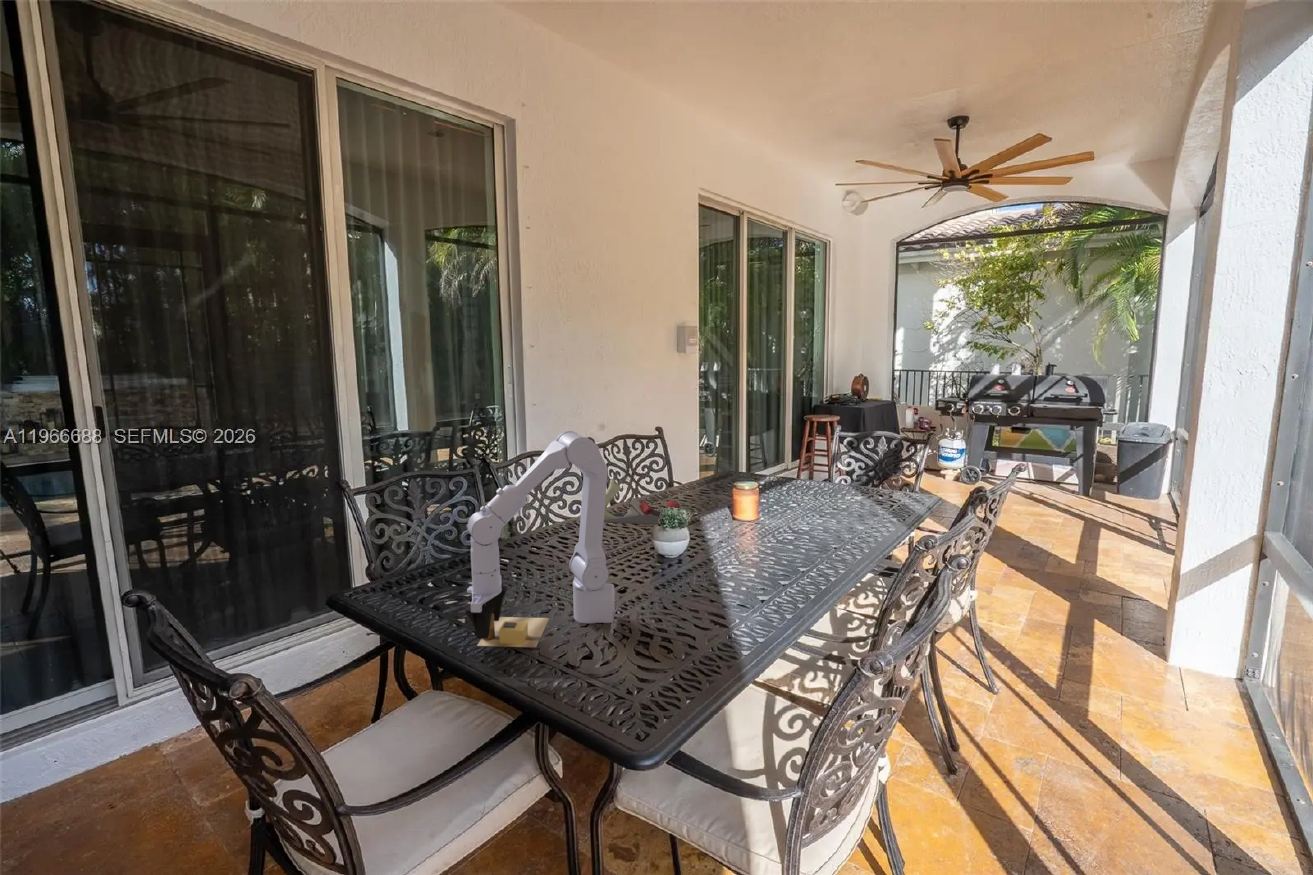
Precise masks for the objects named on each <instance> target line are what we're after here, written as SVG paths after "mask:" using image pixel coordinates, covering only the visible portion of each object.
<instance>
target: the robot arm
mask: <svg viewBox="0 0 1313 875" xmlns="http://www.w3.org/2000/svg"><path fill="white" fill-rule="evenodd" d="M569 463H570V464H572V465H574V466H575V468H577V469H578V470H579V472H581V473H582V474H583V479H582V492H581V506H580V507H581V508H580V520H579V531H578V532H579V533H578V542H577V543H576V544H575V546H574V551H573V554H572V556H571V558H570V560H569V569H570V572H571V574H573V575H574V576H573V577H574V579H573V581H572V591H573V592H572V596H573V598H572V599H573V619H574V621H576V622H577V623H581V624H597V623H600V624H601V623H604V624H605V623H608V624H610V623H611V624H610V629H612V627H613V622H614V619H615V616H616V608H615V606H616V604H615V585H614V584H612V583H607V581H608V579H609V571H608V567H607V564H606V563H607V562H606V560H607V557H606V553H605V551H604V548H603V534H604V533H603V532H604V523H605V522H604V511H605V498H606V491H607V484H608V474H609V473H608V466H607V463H606V462H605V460H604V458H603V455H602V453H601V452H600V446H598V445H597V444H596V443H595V442H594V441H592V440H591V439H590V438H588V437H585V436H582V435H580V434H578V433H577V432H575V431H572V430H568V431H564V432H562V433H560V434H559V435H558V436H557V438H556V439H554V440H553V441H552V442H550V443H549V445H548V446H547V447H546V449H545V450H544V452H543V453H541V455H540V456H539V457H538V458H537V459H536V460H535V461H534V462H533V464H532V465H530V467H529V468H528V469H527V470H526V472H524V473H523V475H522V476H521V477H520V478H519V479H518V480H517V481H516V483H515V484H507V485H505V486H504V487H503V488H502V487H499V488H497V489H496V490H495V492H496V495H495V496H494V497H493V498H491V500H490V501H488V503H487V504H486V505H482V506H481V507H480V508H479V511H476V512H475V513H473V514H472V515H471V516H470V517H469V518H468V522H467V524H466V530H467V532H468V533H469V534H470V535H471V536H470V565H471V583H472V584H471V585H470V586H468V588H467V589H466V592H467V593H468V594H471V603H470V604H469V605H467V606H466V608H465V610H464V611H465V615H466V616H467V617H468V618H469V619H470V621H471V623H472V625H473V629H474V632H475V634H476V637H477V639H480V640H481V639H487V638H488V636H489V631H490V621H491V616H492V613H493V614H494V621H499V618H500V617H501V612H502V606H503V601H504V599H505V596H506V593H507V591H508V586H506V585H502V583H503V582H502V574H501V568H500V567H501V566H500V549H499V538H500V537H501V535H502V528H503V527H505V526H506V525H507V524H508V523H509V522H510V521H511V519H513V518H514V516H515V515H516V514H518V512H520V511H521V509H522V508H523V507H524V506H526V503H527V496H528V494H530V492H532V491H533V490H534V489H535V488H536V487H537V486H538V485H539V484H540V483H541V482H543V481H544V480H545V478H547V477H548V476H549V475H551V473H553V471H555V470H562V469H570V468H571V466H570V464H569Z"/></svg>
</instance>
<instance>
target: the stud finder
mask: <svg viewBox="0 0 1313 875" xmlns="http://www.w3.org/2000/svg"><path fill="white" fill-rule="evenodd" d="M527 636H528V622H514V621H505V622H504V623H503V625H502V626H501V628H500V630H499V637H500V644H524V642H525V640H526V638H527Z"/></svg>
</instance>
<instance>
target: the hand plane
mask: <svg viewBox="0 0 1313 875" xmlns="http://www.w3.org/2000/svg"><path fill="white" fill-rule="evenodd" d="M621 489H622V488H621V486H620V485H619V484H618V483H617V481H616V480H615V479H612V478H611V479H610V482H609V486H608V487H607V489H606V498H605V511H604V523H610V524H611V523H612V524H638V525H639V524H640V525H641V524H642V525H644V524H645V525H647V524H648V525H658V524H657V523H658V519H659V515H660V513H663V512H662V511H659V510H658V509H655V508H653V507H651V505H649V503H647V501H645V500H644V501H643V502H642V503H640V501H638V500H637V499H636V498H635V497H634V496H633V497H632V496H629V497H628V498H627V499H626V500H625V503H624V504H623V506H624V507H625V508H628V510H626V509H622V510H621V512H614V513H613V512H612V513H610V512H609V510H608V509H607V508H608V505H609V504H610V502H611V501H612V500H613V498H614V497H616V495H617V494H618V493H619V492H620V491H621ZM665 507H666V508H668V507H675V508H680V509H681V505H680V504H679V502H678V501H677V500H674V499H671V500H669V501H667V502H666V503H665ZM666 508H665V509H666Z"/></svg>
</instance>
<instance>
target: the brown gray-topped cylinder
mask: <svg viewBox="0 0 1313 875" xmlns="http://www.w3.org/2000/svg"><path fill="white" fill-rule="evenodd" d="M494 638H495V626H494V614H493V613H492V616H491V621H490V631H489V636H488V638H487V639H483V640H486V641H488V640H492V639H494Z"/></svg>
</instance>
